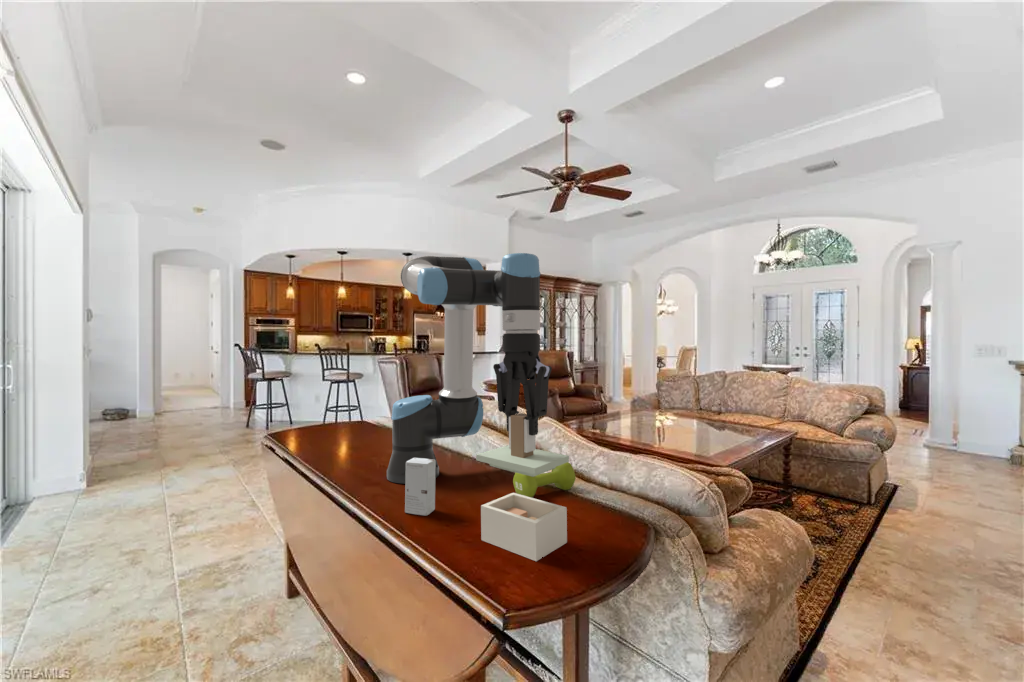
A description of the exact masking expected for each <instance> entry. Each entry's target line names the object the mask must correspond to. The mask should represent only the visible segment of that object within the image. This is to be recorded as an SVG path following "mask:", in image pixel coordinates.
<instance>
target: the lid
mask: <svg viewBox="0 0 1024 682" xmlns="http://www.w3.org/2000/svg"><path fill="white" fill-rule="evenodd" d="M525 417H527V413H521V412H519V413H518V414H515V415H511V449H509V444H508V445H504V446H502V447H501V446H500V447H498V448H493V449H490V450H487V451H484V452H481V453H477V454H476V456H475V457H476V459H475V461H477V462H481V463H486V464H489V467H492V468H497V469H500V470H505V471H508V472H511V473H515V472H516V473H520V474H524V475H528V476H532V477H534V476H537V475H539V474H543V473H548V472H550V471H552V469H555V468H556V467H557V466H559V465H562V464H564V463H567V462H568V463H570V455H569V454H563V453H558V452H552V451H547V450H542V449H538V448H536V450H534V451H531V452H528V453H526V452H524V419H525Z"/></svg>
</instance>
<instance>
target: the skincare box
mask: <svg viewBox="0 0 1024 682" xmlns="http://www.w3.org/2000/svg"><path fill="white" fill-rule="evenodd" d="M436 460H437V459H436ZM436 460H433V459H425V458H412V459H410V460H408V461H407V462H406V471H405V485H404V486H405V487H404V489H405V490H404V493H405V494H404V495H405V496H404V503H405V504H404V513H405V514H411V515H416V516H417V515H418V516H423V517H424V516H428V515H430V514H431V513H432V512H434V511H435V510H436V478H435V467H436Z"/></svg>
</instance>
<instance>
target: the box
mask: <svg viewBox="0 0 1024 682" xmlns="http://www.w3.org/2000/svg"><path fill="white" fill-rule="evenodd" d="M567 511H568V509H567V506H564V505H563V506H562V505H559V504H556V503H553V502H550V501H549V502H548V501H546V500H541V499H537V498H534V497H532V498H531V497H527V496H524V495H520V494H517V493H516V492H511V493H507V494H506V495H504V496H502V497H499V498H497V499H492V500H491V501H488V502H486V503H484V504H481V505H480V532H481V533H480V535H481V536H480V539H481V541H482V542H485V543H488V544H491V545H493V546H496V547H498V548H501V549H503V550H506V551H508V552H511V553H514V554H516V555H519V556H521V557H524V558H526V559H529V560H532V561H535V562H538V561H539V560H541V559H543V558H544V557H546V556H547V555H549V554H551V553H552V552H554V551H555V550H558V549H559V548H561V547H562V546H564V545H565V544H567V543H568V531H567V530H568V525H567V524H568V521H567V520H568V517H567V516H568V514H567V513H568V512H567ZM542 557H543V558H542Z"/></svg>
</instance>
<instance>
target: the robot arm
mask: <svg viewBox="0 0 1024 682" xmlns="http://www.w3.org/2000/svg"><path fill="white" fill-rule="evenodd" d="M540 271H541V269H540V259H539V257H538V256H537V255H536V254H533V253H526V252H518V253H517V252H516V253H507V254H506V255H503V257H502V259H501V267H500V270H493V269H492V270H491V269H490V270H489V269H484V268H483V265H482V262H480V260H478V259H477V258H470V257H466V256H465V257H464V256H463V257H461V256H460V257H455V256H434V255H427V256H426V255H425V256H419V257H416V258H413V259H410V260H408V262H406V263H405V264H404V266H403V267H402V269H401V271H400V272H401V273H400V281H401V284H402V286H403V288H405V290H406V291H408V293H410V294H413V295H416V296H417V297H418V300H419V302H420V303H421V304H424V305H432V306H440V305H441V306H442V307H443V309H444V353H443V354H444V355H443V357H444V360H443V361H444V362H443V364H444V365H443V368H444V369H443V388H442V389H441V390H439V392H438V399H433V397H432V396H431V395H429V394H423V395H413V396H407V397H403V398H401V399H398V400H396V401H395V402H394V403H393V404H392V408H391V409H392V411H391V420H392V423H391V424H392V425H391V426H392V428H391V429H392V432H391V433H392V437H391V438H392V440H391V441H392V445H391V446H392V453H391V456H390V459H389V462H388V466H387V468H386V479H387V481H389V482H391V483H394V484H403V485H404V484H405V471H406V462H407V461H408V460H410V459H412V458H425V459H433V460H436V467H435V479H436V478H438V477H439V475H440V466H439V463H438V460H437V457H436V455H435V452H434V448H433V440H435V439H436V440H437V439H447V438H449V439H450V438H459V437H461V438H465V437H467V436H468V437H469V436H473V435H476V434H477V433H478V432H479V431H480V429H481V427H482V424H483V420H484V408H483V407H484V403H483V400H482V398H481V397H480V396H478V392H477V391H476V389H474V388H473V366H474V365H473V364H474V362H473V361H474V360H473V359H474V354H473V353H474V310H475V308H476V307H477V306H493V307H502V308H501V309H502V312H501V313H502V314H501V315H502V330H503V331H504V332H505V333H503V335H502V337H501V338H502V351H503V352H504V357H503V361H501V362H499V363H494V364H493V370H494V373H495V379H496V396H497V410H498V411H499V413H503V414H504V415H505V417H506V430H507V432H508V445H509V449H511V415H516V414H520V411H518V409H519V400H520V399H519V398H520V390H521V385H522V389H523V395H524V403H525V410H526V414H527V417H525V419H524V452H526V453H528V452H531V451H534V450H536V449H537V448H536V446H537V445H536V435H538V433H539V419H540V417H543V416H546V415H547V411H548V399H549V398H548V395H549V380H550V379H549V378H550V375H551V373H552V370H553V369H552V366H551V365H545V364H544V363H542V362H541V358H540V356H539V353H540V351H541V334H540V333H538V331H540V330H541V310H540V309H541V308H540V307H541V305H540V304H541V299H540V297H541V296H540V295H541V294H540V293H541V291H540V290H541V289H540V288H541V272H540Z"/></svg>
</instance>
